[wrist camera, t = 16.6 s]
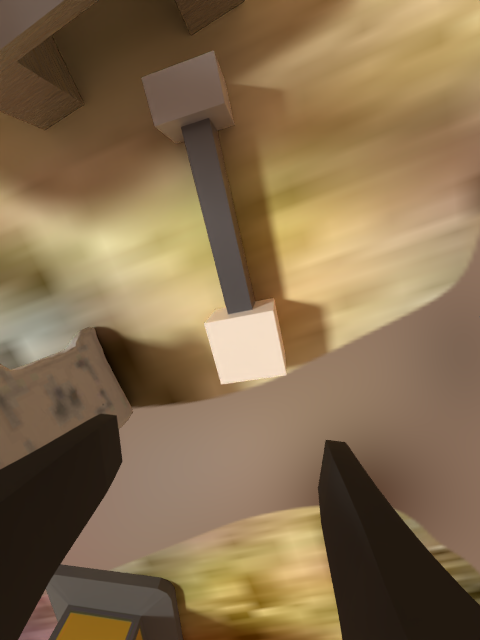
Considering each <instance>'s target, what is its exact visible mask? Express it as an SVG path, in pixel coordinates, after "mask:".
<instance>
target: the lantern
mask: <svg viewBox="0 0 480 640" xmlns="http://www.w3.org/2000/svg"><path fill="white" fill-rule="evenodd" d="M46 591H47V594H48V596H49V599H50V602H51V604H52V607H53V610H54V613H55V615H56V618H57V621H58V624H57V626H56V627H55V629H54V631H53V633H52V634H51V636H50V638H49V640H183V636H182V630H181V624H180V618H179V612H178V606H177V600H176V594H175V588H174V587H173V585H172V584H171V582H169V581H167V580H165V579H163V578H159V577H151V576H144V575H136V574H129V573H121V572H113V571H106V570H98V569H91V568H84V567H76V566H68V565H61V564H60V565H59V567H58V569H57V570H56V572H55V574H54V575H53V577H52V578H51V580H50V582H49V583H48V585H47V587H46Z"/></svg>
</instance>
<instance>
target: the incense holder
mask: <svg viewBox="0 0 480 640" xmlns="http://www.w3.org/2000/svg"><path fill="white" fill-rule="evenodd" d="M101 413H102V414H110V415H117V421H118V429H119V428H120V427H122V426H123V425H124V424H125V423H126V421H127V420H128V419H129V418H130V416H131V414H132V413H133V412H132V407H131V405H130V404H129V402H128V400H127V398H126V396H125V394H124V392H123V390H122V389H121V387H120V385H119V383H118V382H117V379H116V377H115V376H114V374H113V372H112V369H111V367H110V365H109V364H108V362H107V360H106V358H105V355H104V353H103V349H102V347H101V345H100V343H99V341H98V338H97V336H96V331H95V329H94V328H90V327H88V328H85V329H82V330H80V331H79V332H77V333H76V334H75V335H74V336H73V338H72V340H71V341H70V342H69V344H68V345H67V346H66V348H65V349H64V350H63V351H61V352H58V353H56V354H53V355H50V356H48V357H45V358H42V359H40V360H37V361H35V362H32V363H29V364H26V365H23V366H20V367H18V368H15V369H12V370H10V369H8V368H6V367H4V366H2V365H1V364H0V469H2V468H4V467H6V466H8V465H9V464H11V463H13V462H15V461H17V460H19V459H21V458H22V457H24V456H26V455H28V454H30V453H32V452H34V451H35V450H37V449H39V448H41V447H42V446H44V445H46V444H48V443H49V442H51V441H53V440H54V439H56V438H58V437H60V436H61V435H63V434H65V433H67V432H68V431H70V430H72V429H73V428H75V427H77V426H79V425H80V424H82V423H84V422H86V421H87V420H89V419H91V418H93V417H95V416H97V415H99V414H101Z"/></svg>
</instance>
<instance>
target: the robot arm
mask: <svg viewBox="0 0 480 640" xmlns="http://www.w3.org/2000/svg"><path fill="white" fill-rule="evenodd" d="M121 463H122V454H121V446H120V437H119V429H118V421H117V415H110V414H102V413H101V414H99V415H97V416H95V417H93V418H91V419H89V420H87V421H86V422H84V423H82V424H80V425H79V426H77V427H75V428H73V429H72V430H70V431H68V432H67V433H65V434H63V435H61V436H60V437H58V438H56V439H54V440H53V441H51V442H49V443H48V444H46V445H44V446H42V447H41V448H39V449H37V450H35V451H34V452H32V453H30V454H28V455H26V456H24V457H22V458H21V459H19V460H17V461H15V462H13V463H11V464H9V465H8V466H6V467H4V468H2V469H0V640H18V639H19V637H20V635H21V633H22V631H23V629H24V627H25V625H26V623H27V622H28V620H29V618H30V616H31V614H32V613H33V611H34V609H35V607H36V605H37V603H38V602H39V600H40V598H41V596H42V594H43V592H44V591H45V589H46V587H47V585H48V583H49V582H50V580H51V578H52V577H53V575H54V574H55V572H56V570H57V569H58V567H59V565H60V564H61V562H62V561H63V559H64V558H65V556H66V554H67V553H68V551H69V550H70V548H71V547H72V545H73V544H74V542H75V541H76V539H77V538H78V536H79V535H80V533H81V532H82V530H83V528H84V527H85V525H86V524H87V522H88V521H89V519H90V518H91V516H92V515H93V513H94V512H95V510H96V508H97V507H98V505H99V504H100V502H101V501H102V499H103V498H104V496H105V494H106V493H107V491H108V489H109V487H110V486H111V484H112V482H113V480H114V478H115V476H116V474H117V472H118V470H119V467H120V465H121ZM318 493H319V503H320V504H319V505H320V515H321V525H322V530H323V536H324V541H325V546H326V552H327V557H328V562H329V567H330V572H331V578H332V583H333V588H334V593H335V598H336V604H337V609H338V614H339V620H340V626H341V633H342V639H343V640H480V605H479V604H478V603H477V602H476V601H475V600H474V599H473V598H472V597H471V596H470V595H469V594H468V593H467V592H466V591H465V590H464V589H463V588H462V587H461V586H460V585H459V584H458V583H457V581H456V580H455V579H454V578H453V577H452V576H451V575H450V574H449V573H448V572H447V571H446V570H445V569H444V567H443V566H442V565H441V564H440V563H439V562H438V561H437V560H436V559H435V558H434V556H433V555H432V554H431V553H430V552H429V551H428V550H427V549H426V547H425V546H424V545H423V544H422V543H421V542H420V540H419V539H418V538H417V537H416V536H415V534H414V533H413V532H412V531H411V530H410V528H409V527H408V526H407V525H406V524H405V522H404V521H403V520H402V519H401V517H400V516H399V515H398V514H397V512H396V511H395V510H394V509H393V507H392V506H391V505H390V503H389V502H388V501H387V499H386V498H385V497H384V495H383V494H382V493H381V492H380V491H379V489H378V488H377V486H376V485H375V484H374V482H373V481H372V479H371V478H370V477H369V476H368V474H367V472H366V471H365V470H364V468H363V467H362V465H361V464H360V462H359V461H358V460H357V458H356V457H355V455H354V454H353V452H352V451H351V449H350V448H349V446H348V445H347V444H346V443H345V442H339V441H331V440H326V442H325V448H324V455H323V461H322V467H321V473H320V480H319V486H318Z"/></svg>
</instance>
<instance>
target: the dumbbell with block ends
mask: <svg viewBox="0 0 480 640" xmlns="http://www.w3.org/2000/svg"><path fill="white" fill-rule="evenodd" d="M141 79H142V83H143V86H144V90H145V94H146V97H147V101H148V105H149V108H150V112H151V116H152V119H153V123H154V127H156V128H157V129H158V130H159V131H161V132H162V133H163V134H164V135H166V136H167V137H168V138H169V139H171V140H172V141H173V142H174V143H175V144H177V143H180V142H183V141H184V142H185V146H186V150H187V154H188V158H189V162H190V166H191V170H192V174H193V178H194V182H195V185H196V189H197V193H198V197H199V201H200V205H201V209H202V213H203V217H204V221H205V225H206V229H207V233H208V237H209V241H210V245H211V249H212V253H213V257H214V261H215V265H216V269H217V273H218V277H219V281H220V285H221V289H222V293H223V297H224V301H225V305H226V307H224V308H219V309H215V310H214V311H213V313H212V314H211V315H210V316H209V318H208V319H207V320H206V322H205V323H204V325H205V328H206V332H207V335H208V339H209V343H210V346H211V350H212V353H213V357H214V361H215V364H216V368H217V371H218V375H219V378H220V382H221V384H228V383H235V382H242V381H249V380H256V379H263V378H270V377H277V376H284V375H286V357H285V350H284V345H283V340H282V335H281V330H280V325H279V320H278V315H277V310H276V305H275V300H274V298H270V299H265V300H260V301H255V299H254V294H253V290H252V285H251V281H250V276H249V272H248V267H247V263H246V258H245V254H244V249H243V245H242V240H241V236H240V231H239V227H238V222H237V217H236V213H235V208H234V204H233V199H232V195H231V190H230V186H229V181H228V177H227V172H226V168H225V163H224V159H223V154H222V150H221V145H220V141H219V136H218V132H217V131H218V130H221V129H224V128H227V127H230V126H233V125H234V120H233V116H232V111H231V106H230V101H229V96H228V91H227V86H226V82H225V79H224V77H223V74H222V71H221V69H220V66H219V63H218V60H217V58H216V55H215V52H214V50H213V51H210V52H208V53H205V54H202V55H200V56H197V57H194V58H192V59H189V60H186V61H184V62H181V63H178V64H176V65H173V66H170V67H168V68H165V69H162V70H160V71H157V72H154V73H152V74H149V75H146V76H144V77H141Z"/></svg>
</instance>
